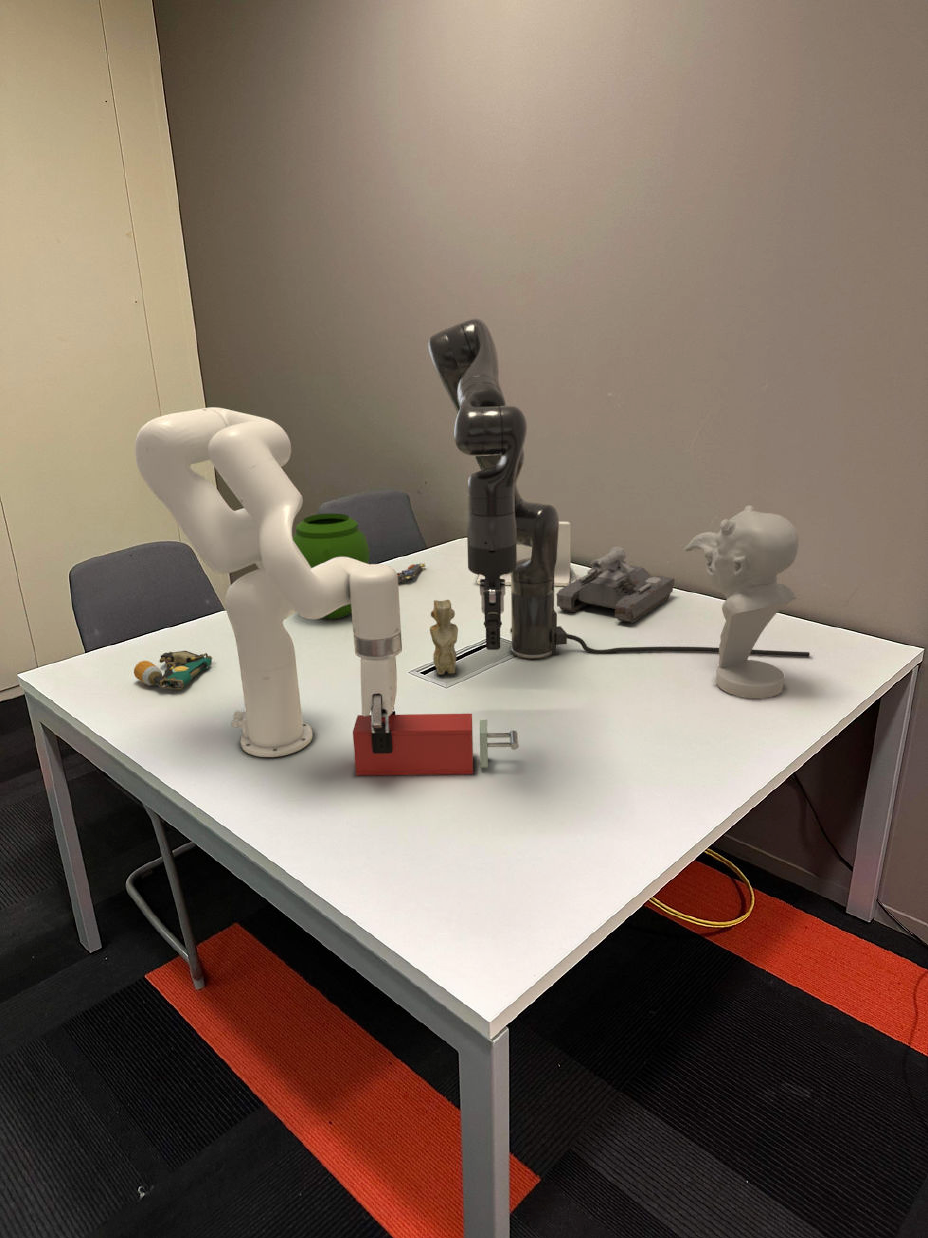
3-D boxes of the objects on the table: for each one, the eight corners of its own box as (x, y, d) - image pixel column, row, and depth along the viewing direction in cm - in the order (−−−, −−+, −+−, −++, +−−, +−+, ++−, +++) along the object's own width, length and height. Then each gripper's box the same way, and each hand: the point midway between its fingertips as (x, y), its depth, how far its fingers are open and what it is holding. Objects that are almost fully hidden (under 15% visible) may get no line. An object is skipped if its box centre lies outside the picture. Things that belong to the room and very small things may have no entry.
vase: (389, 608, 216) (383, 514, 208) (339, 633, 201) (330, 533, 192) (330, 596, 226) (322, 506, 218) (278, 619, 211) (267, 523, 202)
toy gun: (374, 578, 232) (409, 575, 230) (392, 563, 250) (425, 560, 247) (376, 588, 232) (411, 585, 230) (394, 572, 250) (427, 569, 248)
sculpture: (458, 662, 183) (456, 596, 178) (460, 676, 176) (457, 608, 171) (431, 663, 183) (428, 597, 177) (431, 677, 176) (428, 609, 171)
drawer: (517, 752, 145) (517, 719, 143) (518, 766, 140) (518, 732, 138) (381, 754, 146) (378, 721, 143) (377, 768, 141) (375, 734, 139)
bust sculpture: (717, 648, 186) (730, 489, 174) (806, 688, 166) (828, 512, 154) (660, 663, 179) (669, 500, 167) (745, 707, 159) (763, 525, 147)
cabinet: (473, 756, 146) (472, 713, 143) (472, 774, 140) (471, 730, 138) (360, 757, 146) (357, 715, 144) (356, 775, 141) (352, 731, 138)
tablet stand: (569, 585, 229) (570, 524, 223) (476, 584, 232) (475, 523, 226) (570, 566, 246) (571, 508, 240) (484, 564, 249) (483, 507, 243)
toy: (603, 584, 229) (605, 530, 224) (673, 597, 218) (677, 540, 213) (555, 612, 210) (556, 553, 205) (630, 627, 199) (633, 566, 194)
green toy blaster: (177, 659, 191) (231, 671, 185) (120, 684, 176) (176, 698, 171) (176, 641, 190) (230, 653, 184) (118, 665, 175) (174, 678, 169)
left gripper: (361, 623, 144) (369, 719, 150) (346, 664, 128) (355, 769, 134) (406, 622, 144) (411, 718, 150) (396, 663, 127) (402, 769, 134)
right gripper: (468, 528, 137) (470, 623, 143) (465, 553, 124) (468, 656, 129) (515, 528, 137) (515, 622, 142) (517, 552, 123) (518, 656, 129)
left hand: (384, 741), depth 142 cm, fingers closed on cabinet, 5 cm apart
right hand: (493, 638), depth 136 cm, fingers open, 8 cm apart
